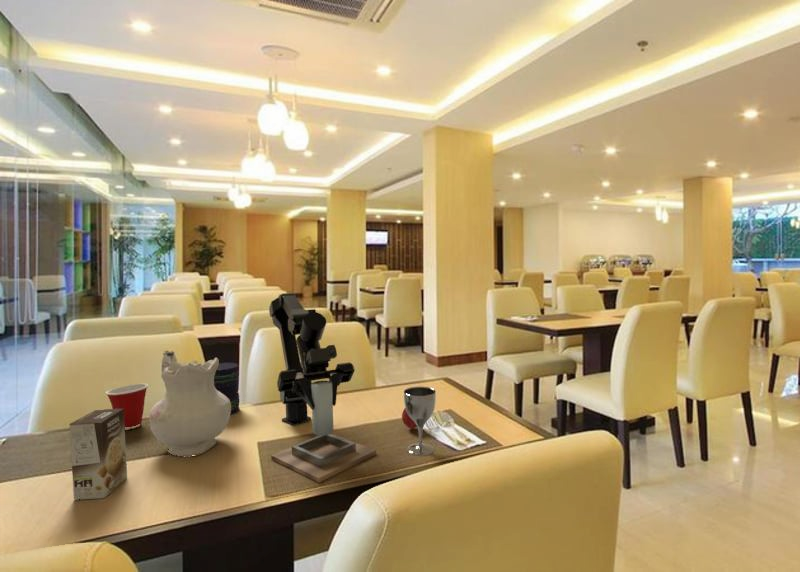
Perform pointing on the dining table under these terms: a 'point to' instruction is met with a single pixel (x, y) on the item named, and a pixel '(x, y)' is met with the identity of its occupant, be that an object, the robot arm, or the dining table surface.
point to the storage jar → (228, 383)
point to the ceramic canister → (322, 408)
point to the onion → (408, 420)
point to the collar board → (323, 456)
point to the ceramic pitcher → (189, 407)
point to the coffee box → (98, 453)
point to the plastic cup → (129, 402)
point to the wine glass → (420, 414)
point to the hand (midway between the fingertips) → (324, 406)
